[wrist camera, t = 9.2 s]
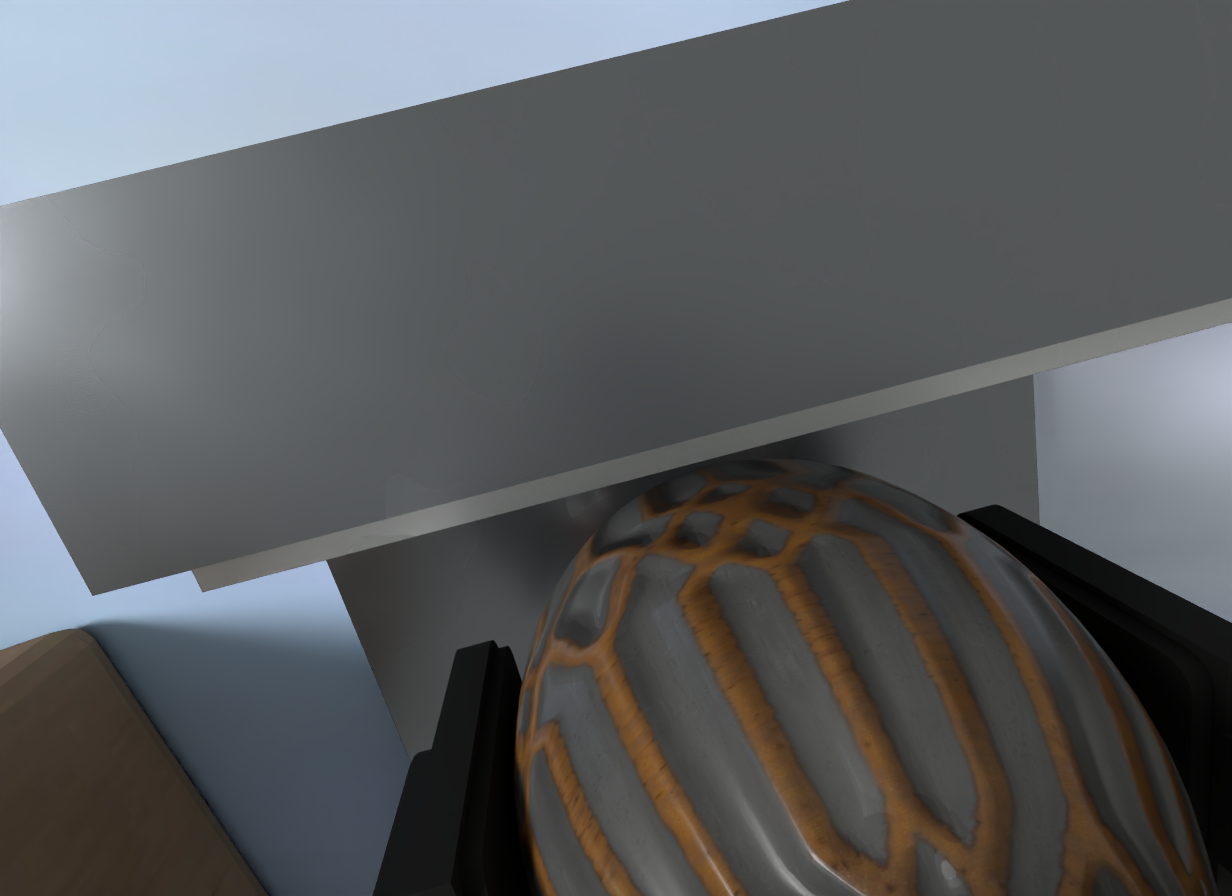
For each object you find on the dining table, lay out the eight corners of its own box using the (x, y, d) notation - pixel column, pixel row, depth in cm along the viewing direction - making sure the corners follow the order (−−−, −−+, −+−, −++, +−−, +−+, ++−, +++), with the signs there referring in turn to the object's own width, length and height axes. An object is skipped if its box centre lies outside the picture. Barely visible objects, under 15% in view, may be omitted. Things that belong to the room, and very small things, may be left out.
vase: (916, 702, 12) (1689, 1602, 4) (581, 797, 12) (649, 1963, 4) (875, 367, 10) (2217, 746, 2) (475, 472, 10) (128, 1381, 2)
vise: (1023, 871, 17) (1333, 1264, 10) (537, 1010, 17) (528, 1514, 10) (972, 89, 12) (1581, -179, 5) (240, 271, 11) (-249, 266, 4)
